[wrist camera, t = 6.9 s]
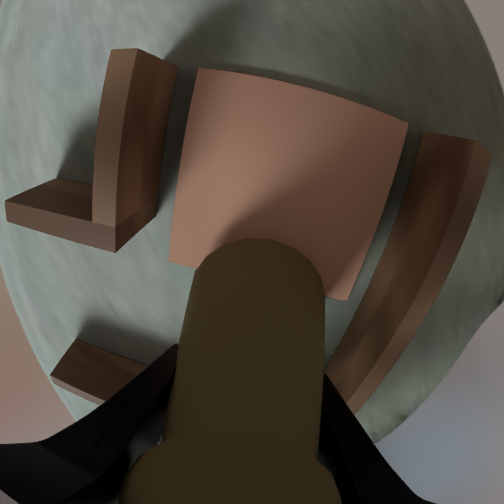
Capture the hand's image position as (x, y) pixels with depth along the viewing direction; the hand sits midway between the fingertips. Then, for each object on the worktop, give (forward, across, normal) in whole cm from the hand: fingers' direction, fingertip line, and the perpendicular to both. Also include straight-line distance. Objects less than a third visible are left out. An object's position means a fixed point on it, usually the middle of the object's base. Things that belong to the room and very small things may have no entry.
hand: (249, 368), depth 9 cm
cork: (+4, 0, 0) cm, 4 cm away
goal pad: (+6, 0, -5) cm, 7 cm away
